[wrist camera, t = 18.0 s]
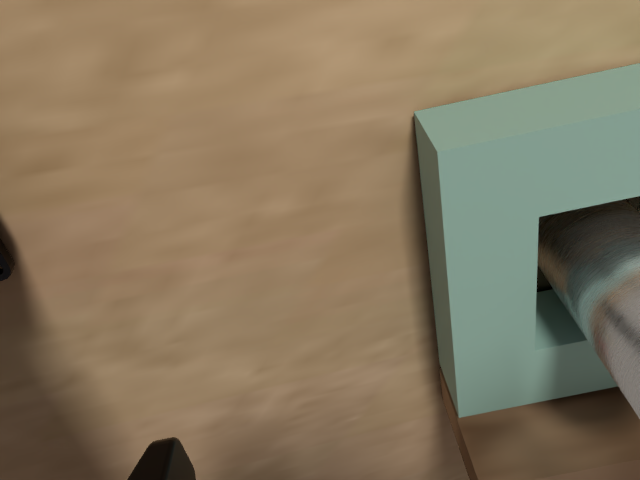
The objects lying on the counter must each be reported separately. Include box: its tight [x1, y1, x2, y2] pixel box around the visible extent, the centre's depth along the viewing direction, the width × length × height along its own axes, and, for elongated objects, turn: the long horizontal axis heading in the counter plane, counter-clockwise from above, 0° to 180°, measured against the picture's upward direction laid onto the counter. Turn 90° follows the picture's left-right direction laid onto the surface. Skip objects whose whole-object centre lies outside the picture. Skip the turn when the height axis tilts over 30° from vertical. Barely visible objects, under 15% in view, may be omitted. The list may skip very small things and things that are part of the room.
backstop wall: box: [439, 369, 640, 480], centre depth 25 cm, size 12×2×6 cm, turn 101°
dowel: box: [537, 199, 640, 419], centre depth 20 cm, size 4×4×8 cm
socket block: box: [414, 63, 640, 418], centre depth 21 cm, size 12×12×3 cm
